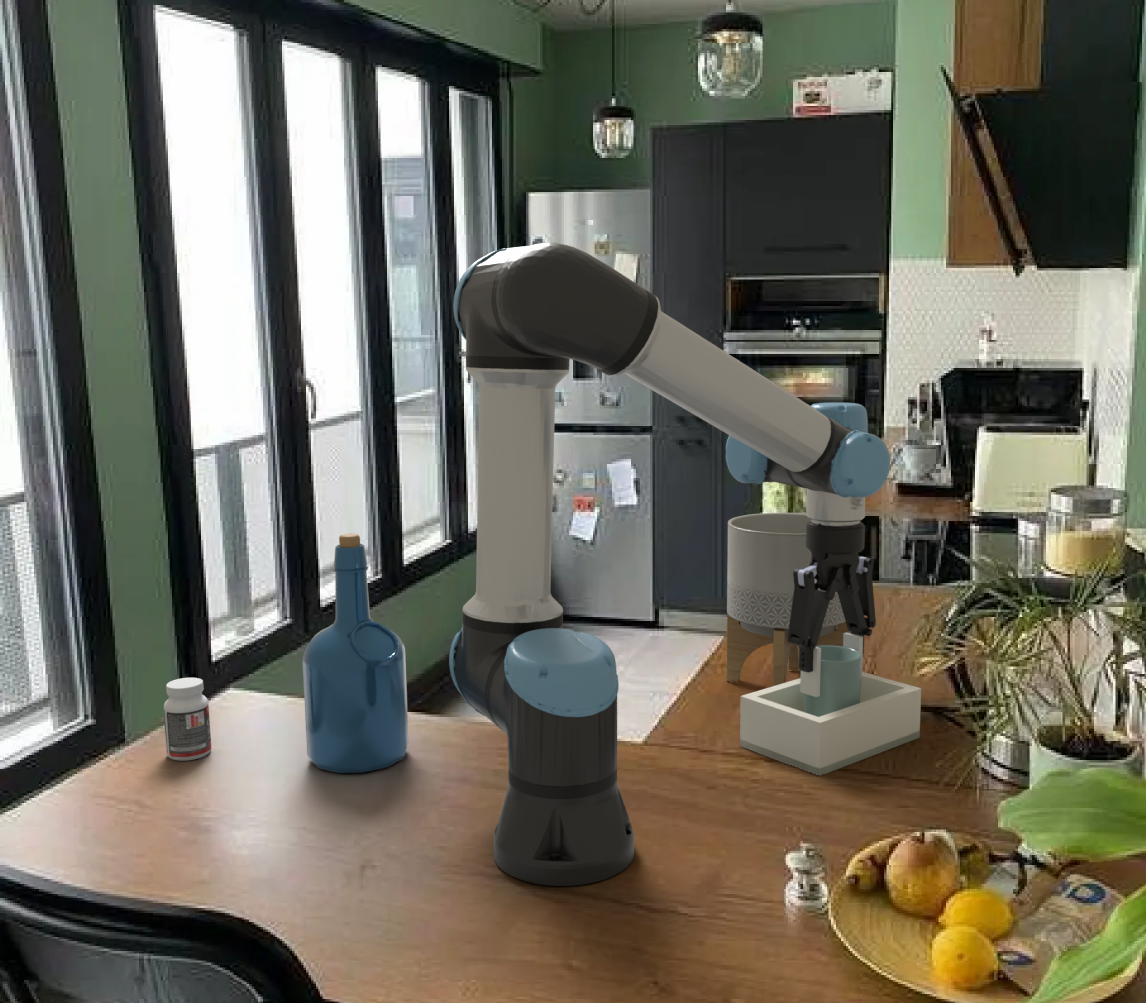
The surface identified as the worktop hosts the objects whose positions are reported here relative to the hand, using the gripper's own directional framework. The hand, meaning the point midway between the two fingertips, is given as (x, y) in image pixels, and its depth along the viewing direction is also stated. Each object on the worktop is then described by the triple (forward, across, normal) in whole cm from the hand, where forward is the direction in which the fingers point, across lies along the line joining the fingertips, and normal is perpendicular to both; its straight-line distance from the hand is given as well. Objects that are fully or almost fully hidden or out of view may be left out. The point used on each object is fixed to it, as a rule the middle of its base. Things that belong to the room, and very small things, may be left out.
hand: (831, 687), depth 153 cm
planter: (+8, +14, +20) cm, 26 cm away
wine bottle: (+8, -52, +36) cm, 64 cm away
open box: (+8, 0, 0) cm, 8 cm away
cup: (+5, 0, 0) cm, 5 cm away
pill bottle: (+8, -69, +52) cm, 87 cm away
